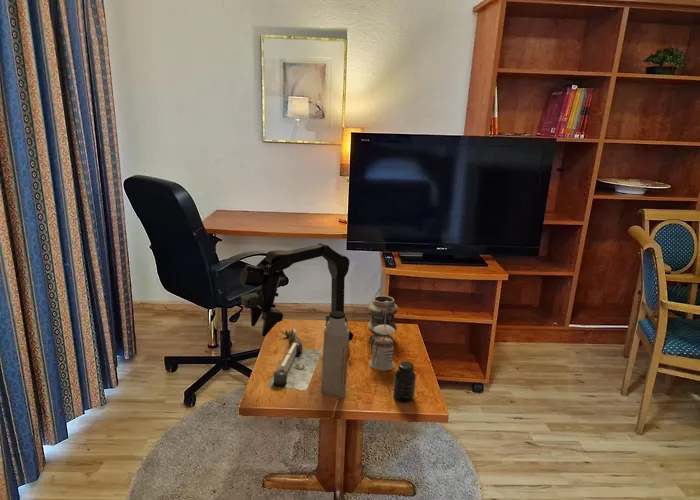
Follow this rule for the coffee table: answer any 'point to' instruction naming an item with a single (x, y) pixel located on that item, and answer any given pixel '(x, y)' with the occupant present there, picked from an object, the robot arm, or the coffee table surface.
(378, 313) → the apothecary jar
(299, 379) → the plate
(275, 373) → the knob
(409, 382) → the supplement bottle
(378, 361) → the french press
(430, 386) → the coffee table surface
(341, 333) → the thermos bottle
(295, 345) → the knob
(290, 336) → the eagle figurine
